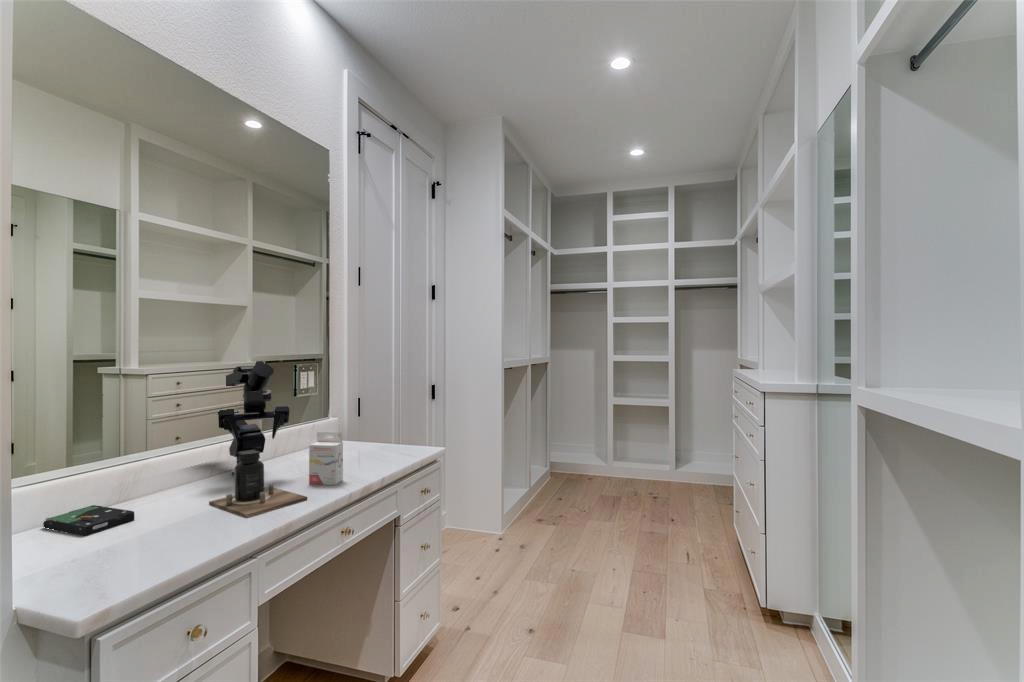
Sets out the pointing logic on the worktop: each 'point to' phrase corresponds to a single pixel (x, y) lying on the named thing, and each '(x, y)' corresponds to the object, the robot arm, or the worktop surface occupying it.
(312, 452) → the ink cartridge box
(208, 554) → the worktop surface
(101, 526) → the disk drive
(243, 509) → the plate
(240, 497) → the supplement bottle
